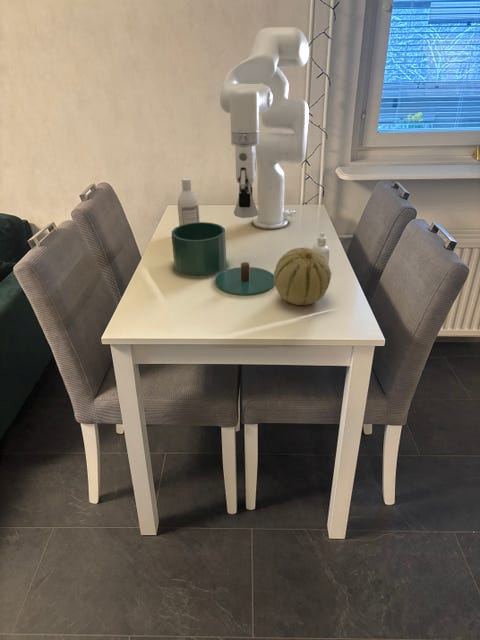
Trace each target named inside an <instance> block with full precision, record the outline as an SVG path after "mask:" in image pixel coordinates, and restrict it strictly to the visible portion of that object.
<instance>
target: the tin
mask: <svg viewBox="0 0 480 640" xmlns="http://www.w3.org/2000/svg"><path fill="white" fill-rule="evenodd" d="M226 239H227V238H226V228H225V227H224V226H222V225H220V224H218V223H214V222H207V221H206V222H205V221H199V222H195V223H188V224H184V225H180V226H179V225H178V226H176V227H174V228H173V229H172V230H171V243H172V253H173V263H174V264H173V265H174V269H175V271H176V272H177V273H179V274H180V275H184V276H187V277H195V278H196V277H208V276H213V275H216V274H220V273H222V272H223V271H225V270H226V267H227V246H226V245H227V244H226V243H227V242H226V241H227V240H226Z"/></svg>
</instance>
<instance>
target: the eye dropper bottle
mask: <svg viewBox="0 0 480 640" xmlns="http://www.w3.org/2000/svg"><path fill="white" fill-rule="evenodd" d="M312 249H314V250H315V251H317V252H319V253H320V254H321V255H323V257H324V258H325V259H326V262H327V264H328V265H329V262H330V249H329V247H328V245H327V237H326V236H325V233H324V232H320V235H319V236H317V241H316V243H315V244H314V245H313V246H312Z"/></svg>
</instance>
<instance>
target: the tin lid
mask: <svg viewBox="0 0 480 640" xmlns="http://www.w3.org/2000/svg"><path fill="white" fill-rule="evenodd" d="M250 264H251V263H249V262H247V261H246V262H245V261H244V262H242V263H240V266H239V267H233V268H229V269H225V270H223V271H221V272H219V273H218V274H217V276H216V277H215V279H214V283H215V287H216V288H217V289H219V290H220V291H222V292H223V293H225V294H229V295H232V296H233V295H234V296H255V295H261V294H264V293H267V292H268V291H270V290H272V289H273V288H274V287H276V286H275V283H274V273H272V272H271V271H268V270H267V269H263V268H260V267H252V266H250Z"/></svg>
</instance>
